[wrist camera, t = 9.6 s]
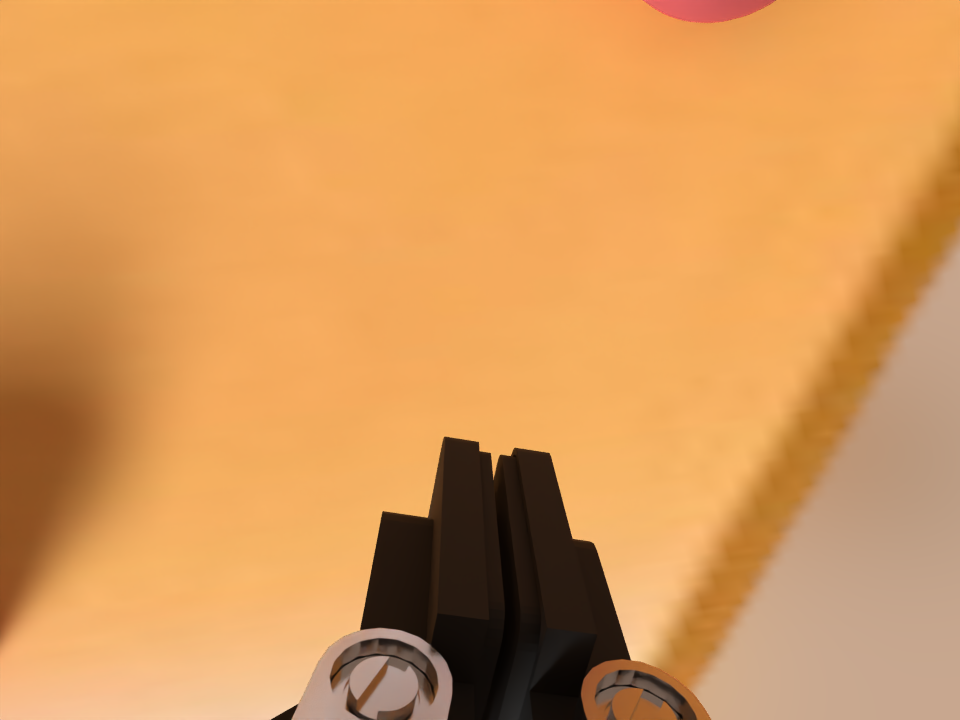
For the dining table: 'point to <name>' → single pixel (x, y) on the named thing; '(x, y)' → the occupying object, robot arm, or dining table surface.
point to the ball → (708, 9)
